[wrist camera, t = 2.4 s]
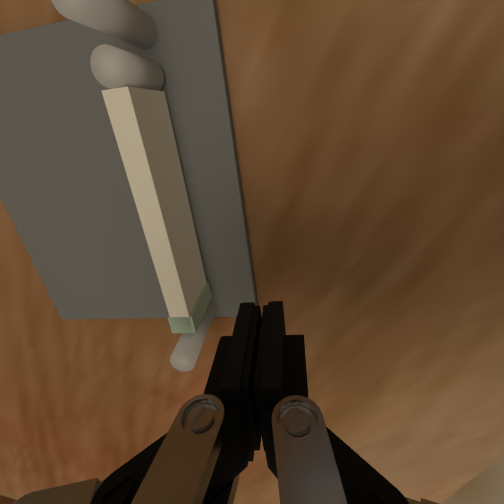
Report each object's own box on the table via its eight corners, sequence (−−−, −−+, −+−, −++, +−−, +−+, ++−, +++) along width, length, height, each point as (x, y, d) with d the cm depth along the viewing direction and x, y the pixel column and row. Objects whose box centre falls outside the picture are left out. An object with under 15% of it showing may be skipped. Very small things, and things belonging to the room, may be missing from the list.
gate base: (215, -5, 19) (166, -76, 11) (258, 310, 29) (247, 374, 22) (-60, 52, 22) (-225, 26, 15) (67, 313, 33) (5, 370, 26)
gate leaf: (159, 57, 19) (119, 41, 15) (211, 296, 27) (195, 333, 23) (132, 61, 20) (84, 47, 15) (191, 297, 28) (172, 333, 23)
